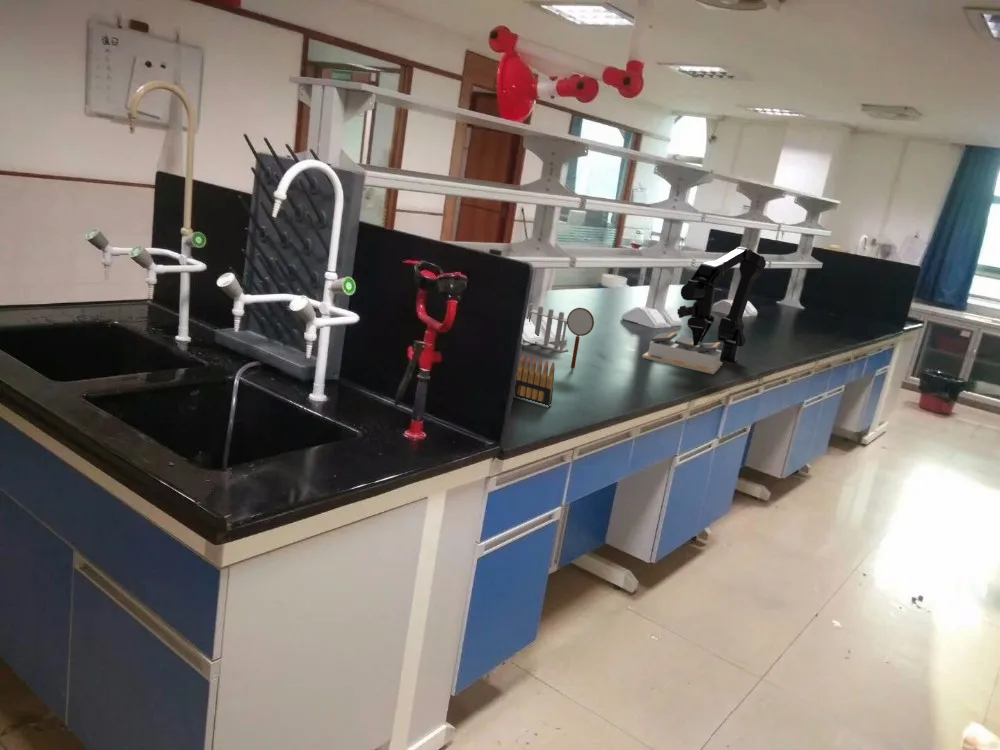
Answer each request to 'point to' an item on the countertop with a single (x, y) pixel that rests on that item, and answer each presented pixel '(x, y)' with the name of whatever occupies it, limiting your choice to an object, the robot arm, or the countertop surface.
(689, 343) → the switch middle
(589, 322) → the magnifying glass
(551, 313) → the grey picket fence
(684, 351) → the switch unit
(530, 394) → the ammunition clip
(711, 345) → the switch
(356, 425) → the countertop surface
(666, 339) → the switch
